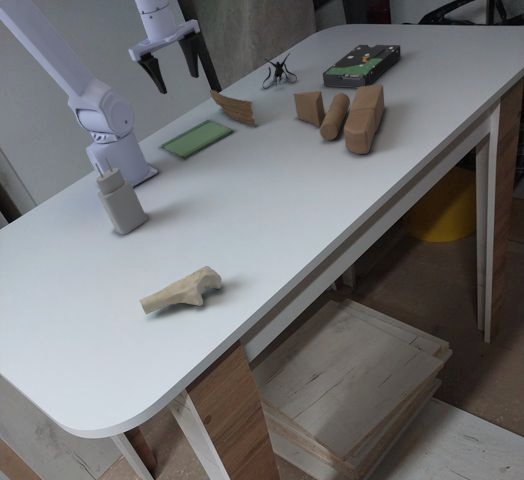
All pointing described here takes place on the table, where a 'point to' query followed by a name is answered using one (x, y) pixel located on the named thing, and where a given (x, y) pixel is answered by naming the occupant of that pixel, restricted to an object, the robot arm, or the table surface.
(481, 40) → the table surface
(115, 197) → the power adapter
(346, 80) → the disk drive
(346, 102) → the wooden block set
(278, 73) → the creature
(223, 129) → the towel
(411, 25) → the table surface
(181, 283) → the bone fragment
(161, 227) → the table surface
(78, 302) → the table surface
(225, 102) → the wood plank
